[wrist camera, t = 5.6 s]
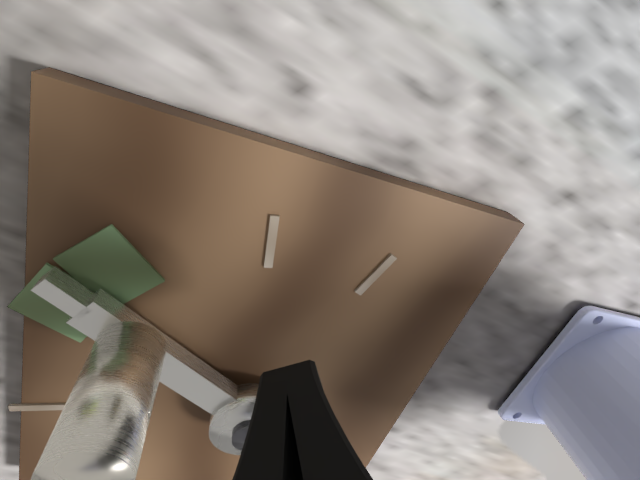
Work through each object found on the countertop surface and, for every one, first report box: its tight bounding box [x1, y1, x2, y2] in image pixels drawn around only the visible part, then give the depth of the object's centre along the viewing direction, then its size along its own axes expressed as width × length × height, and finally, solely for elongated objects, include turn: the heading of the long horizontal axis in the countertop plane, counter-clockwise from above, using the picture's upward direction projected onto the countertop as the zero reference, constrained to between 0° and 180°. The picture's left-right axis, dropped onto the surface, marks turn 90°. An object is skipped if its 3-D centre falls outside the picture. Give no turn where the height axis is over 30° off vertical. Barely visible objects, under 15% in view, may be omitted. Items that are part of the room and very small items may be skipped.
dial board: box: [7, 67, 524, 480], centre depth 16 cm, size 16×18×1 cm
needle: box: [31, 266, 259, 480], centre depth 12 cm, size 11×3×5 cm, turn 35°
